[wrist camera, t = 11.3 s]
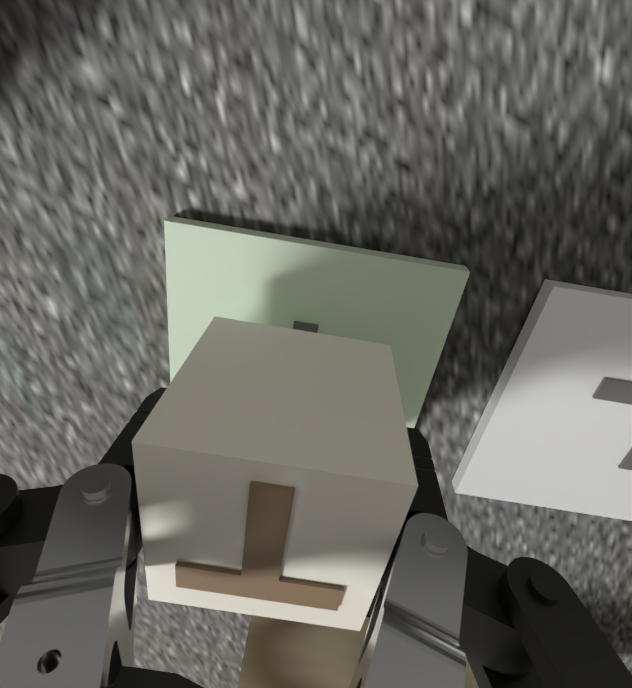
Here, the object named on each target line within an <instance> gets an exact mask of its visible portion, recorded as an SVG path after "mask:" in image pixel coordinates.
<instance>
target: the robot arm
mask: <svg viewBox="0 0 632 688" xmlns="http://www.w3.org/2000/svg"><path fill="white" fill-rule="evenodd" d="M166 389H167V388H162V387H161V388H160V389H158V390H157V391H155V392H153V393H152V394H150V395H149V396H147V397H146V398H145V400H144V401H143V402H142V404H141V405H140V407H139V408H138V409H137V413H136V412H135V414H134V415H133V416H132V418H131V419H130V422H129V423H127V425H126V426H125V428H124V429H123V430H122V432H121V433H120V435H119V436H118V437H117V439H116V440H115V441H114V443H113V444H112V446H111V447H110V448H109V450H108V451H107V453H106V454H105V455H104V457H103V458H102V460H101V461H100V462H99V464H96V465H92V466H89V467H86V468H84V469H82V470H80V471H78V472H76V473H75V474H73V475H72V476H71V477H70V478H69V479H68V480H67V481H66V482H65V483H64V485H60V486H54V487H45V488H36V489H27V490H18V487H17V484H16V482H15V481H14V480H13V479H12V478H11V477H9V476H7V475H3V474H0V623H1V622H2V621H3V620H4V619H5V618H6V617H7V616H8V615H9V616H8V619H7V622H6V625H5V628H4V631H3V634H2V637H1V640H0V688H203V687H201V686H200V685H198V684H196V683H194V682H192V681H190V680H188V679H186V678H184V677H182V676H181V675H179V674H175V673H169V672H162V671H155V670H148V669H142V668H135V667H134V654H133V643H134V627H135V615H136V603H137V591H138V579H139V567H140V550H141V548H142V546H143V543H142V533H141V524H140V515H139V506H138V497H137V487H136V478H135V469H134V460H133V451H132V440H133V438H134V437H135V435H136V434H137V432H138V431H139V429H140V428H141V426H142V425H143V423H144V422H145V420H146V419H147V417H148V416H149V414H150V413H151V411H152V410H153V408H154V407H155V405H156V404H157V402H158V401H159V399H160V398H161V396H162V395H163V393H164V392H165V390H166ZM407 432H408V437H409V442H410V447H411V452H412V457H413V462H414V467H415V472H416V477H417V482H418V488H417V491H416V493H415V496H414V498H413V501H412V503H411V506H410V508H409V511H408V513H407V516H406V518H405V521H404V523H403V526H402V528H401V531H400V533H399V536H398V538H397V541H396V543H395V545H394V548H393V550H392V553H391V555H390V558H389V560H388V563H387V565H386V568H385V570H384V573H383V575H382V578H381V587H380V589H379V592H378V594H377V597H376V601H375V604H374V607H373V611H372V614H371V618H370V621H369V624H368V628H367V631H366V634H365V638H364V641H363V645H362V648H361V651H360V655H359V658H358V661H357V665H356V668H355V671H354V674H353V677H352V680H351V683H350V686H349V688H465V676H466V658H467V660H468V663H469V665H470V667H471V670H472V672H473V675H474V677H475V679H476V682H477V684H478V687H479V688H632V675H631V673H630V672H629V671H628V669H627V668H626V666H625V665H624V663H623V662H622V660H621V659H620V657H619V656H618V655H617V653H616V652H615V650H614V649H613V647H612V646H611V644H610V643H609V642H608V640H607V639H606V637H605V636H604V634H603V633H602V631H601V630H600V628H599V627H598V626H597V624H596V623H595V621H594V620H593V618H592V617H591V615H590V614H589V613H588V611H587V610H586V608H585V607H584V605H583V604H582V602H581V601H580V600H579V598H578V597H577V595H576V594H575V592H574V591H573V589H572V588H571V586H570V585H569V584H568V583H567V581H566V580H565V579H564V578H563V577H562V576H561V575H560V574H559V573H558V572H557V571H556V570H554V569H553V568H552V567H550V566H549V565H547V564H545V563H543V562H541V561H539V560H537V559H533V558H529V557H520V558H516V559H514V560H513V561H512V562H511V563H510V564H509V566H506V565H504V564H502V563H500V562H498V561H495V560H493V559H491V558H489V557H487V556H484V555H482V554H480V553H478V552H476V551H475V550H473V549H471V548H470V547H469V546H467V545H466V542H465V540H464V538H463V536H462V535H461V533H460V532H459V530H458V529H457V528H456V527H455V526H454V525H453V524H451V523H450V522H449V521H448V519H447V515H446V511H445V507H444V503H443V499H442V495H441V492H440V488H439V484H438V480H437V476H436V472H435V468H434V464H433V460H431V458H432V456H431V452H430V448H429V444H428V442H427V441H426V439H425V438H424V437H423V435H422V434H421V433H420V431H419V430H418V429H415V428H409V427H407Z"/></svg>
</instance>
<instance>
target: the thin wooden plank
mask: <svg viewBox="0 0 632 688" xmlns="http://www.w3.org/2000/svg"><path fill="white" fill-rule="evenodd" d="M370 618H371V617H366V618H365V620H364V623H363V625H362V627H361V630H360V631H356V630H349V629H342V628H336V627H329V626H322V625H316V624H309V623H302V622H296V621H289V620H282V619H276V618H269V617H262V616H256V615H251V620H250V626H249V631H248V636H247V641H246V647H245V652H244V657H243V662H242V668H241V673H240V678H239V683H238V688H349V686H350V683H351V680H352V677H353V674H354V671H355V668H356V665H357V661H358V658H359V655H360V651H361V648H362V645H363V641H364V638H365V634H366V631H367V628H368V624H369V621H370ZM465 688H479V687H478V684H477V682H476V679H475V677H474V675H473V672H472V670H471V667H470V665H469V663H468V660H467V658H466V676H465Z"/></svg>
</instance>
